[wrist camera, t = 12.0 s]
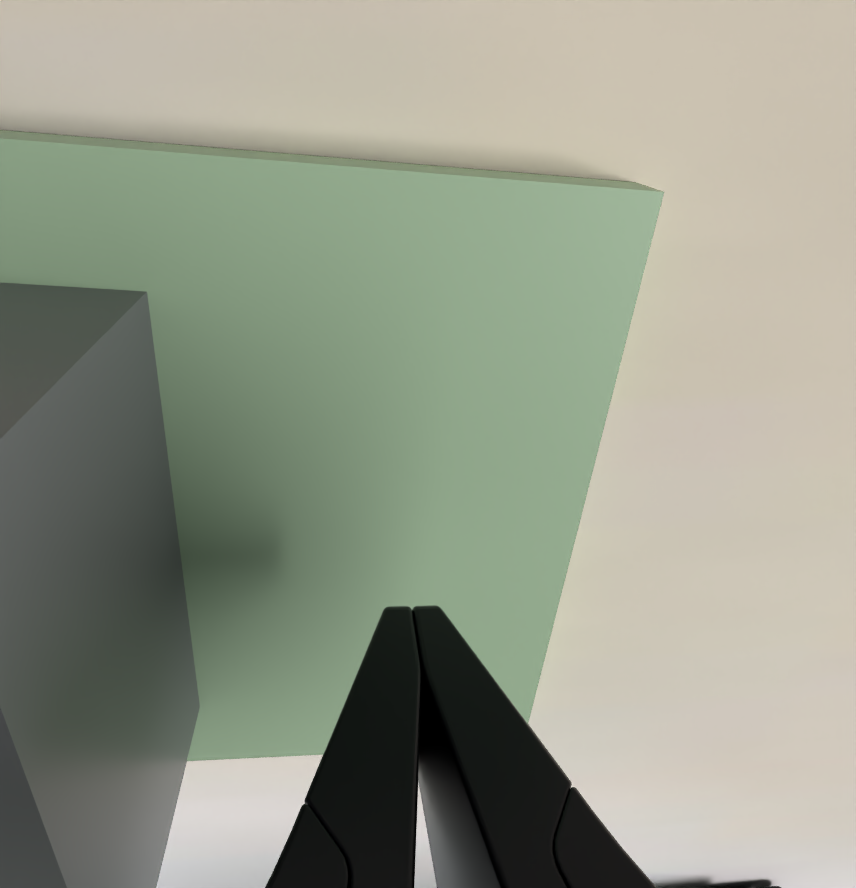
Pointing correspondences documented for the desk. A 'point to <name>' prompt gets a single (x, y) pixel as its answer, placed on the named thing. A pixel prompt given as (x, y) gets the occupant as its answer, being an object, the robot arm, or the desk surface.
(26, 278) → the board
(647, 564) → the desk surface
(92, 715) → the grey c-shaped bracket
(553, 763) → the robot arm
